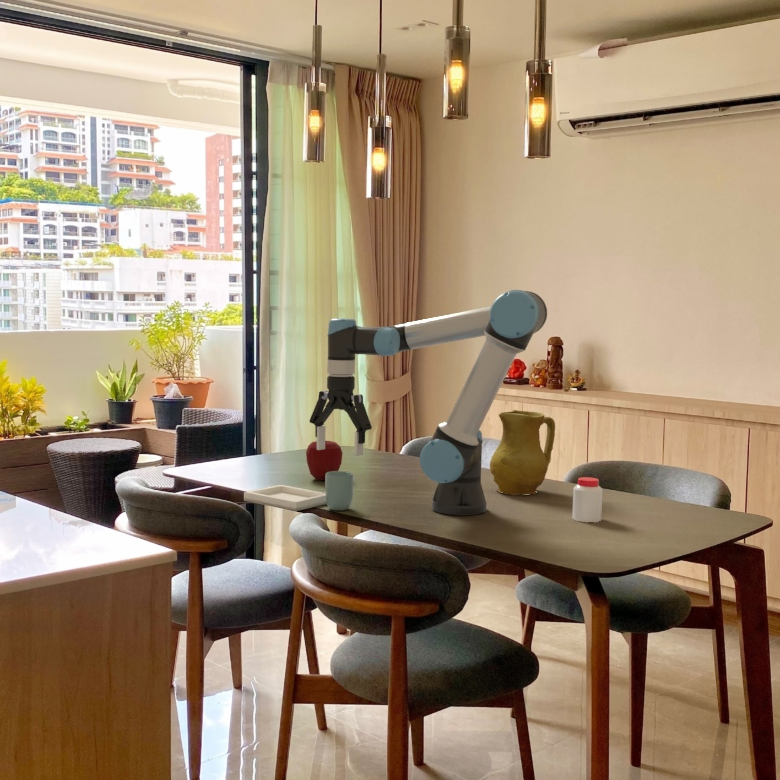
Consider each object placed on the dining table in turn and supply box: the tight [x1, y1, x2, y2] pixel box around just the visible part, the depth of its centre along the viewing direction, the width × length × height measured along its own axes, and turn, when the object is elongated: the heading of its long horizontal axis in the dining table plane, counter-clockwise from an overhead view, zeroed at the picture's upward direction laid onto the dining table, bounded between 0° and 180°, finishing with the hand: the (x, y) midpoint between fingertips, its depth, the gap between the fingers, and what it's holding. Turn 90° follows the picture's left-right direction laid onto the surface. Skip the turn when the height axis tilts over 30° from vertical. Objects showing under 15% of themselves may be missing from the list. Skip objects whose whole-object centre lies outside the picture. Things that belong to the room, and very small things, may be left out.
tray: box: [243, 484, 327, 512], centre depth 278 cm, size 20×15×2 cm
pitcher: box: [489, 409, 556, 495], centre depth 298 cm, size 17×19×25 cm
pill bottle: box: [571, 476, 604, 523], centre depth 264 cm, size 8×8×11 cm
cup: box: [324, 470, 355, 512], centre depth 270 cm, size 8×8×10 cm
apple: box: [305, 440, 343, 481], centre depth 313 cm, size 12×12×13 cm
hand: (339, 452), depth 269 cm, fingers open, 13 cm apart
